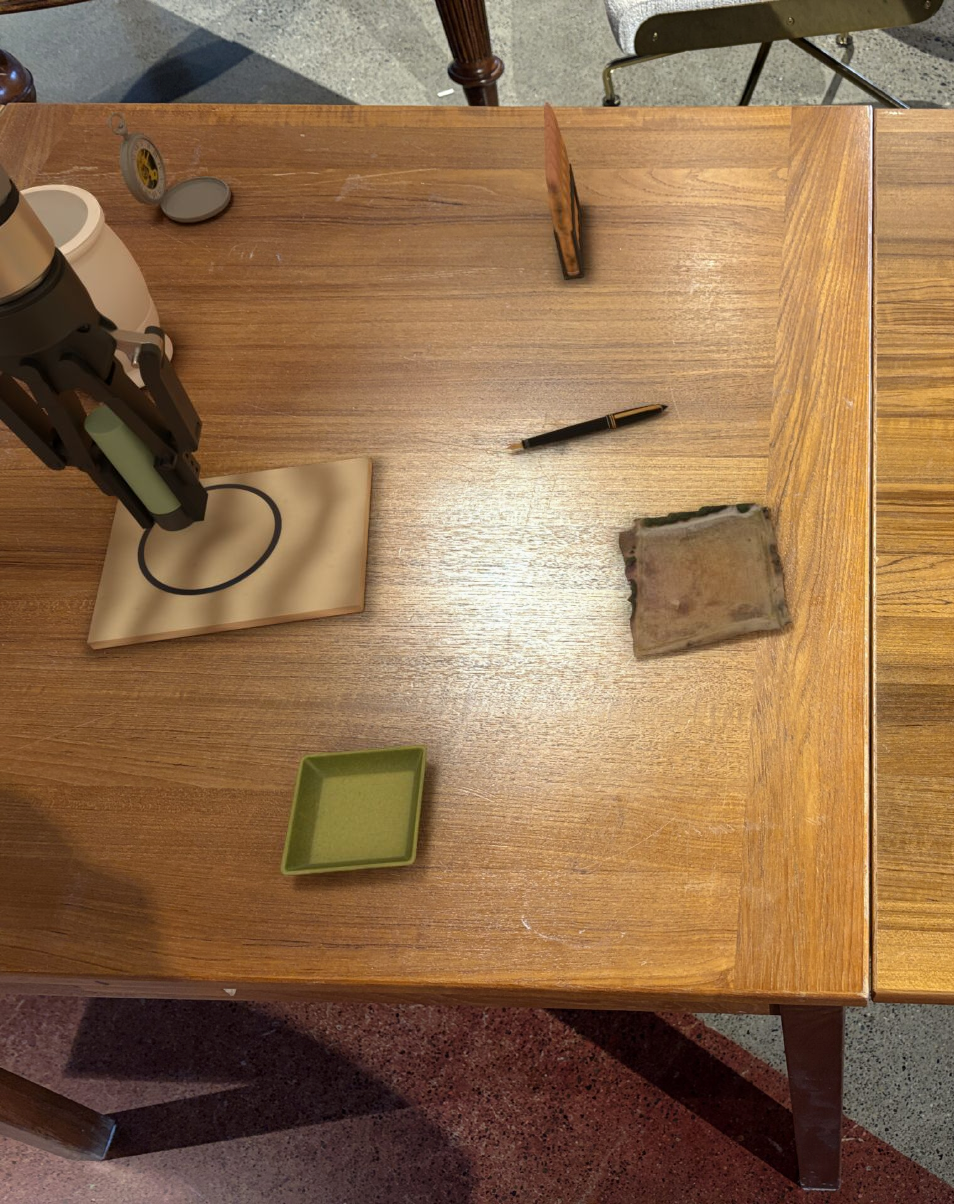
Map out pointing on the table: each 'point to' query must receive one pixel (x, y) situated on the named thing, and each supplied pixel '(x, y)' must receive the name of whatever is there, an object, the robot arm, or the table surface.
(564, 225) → the brown thin upright slab
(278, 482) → the sketch board
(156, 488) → the marker
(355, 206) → the table surface
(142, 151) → the pocket watch
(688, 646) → the parchment
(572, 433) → the fountain pen
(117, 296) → the jar
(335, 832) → the olive green square tray
